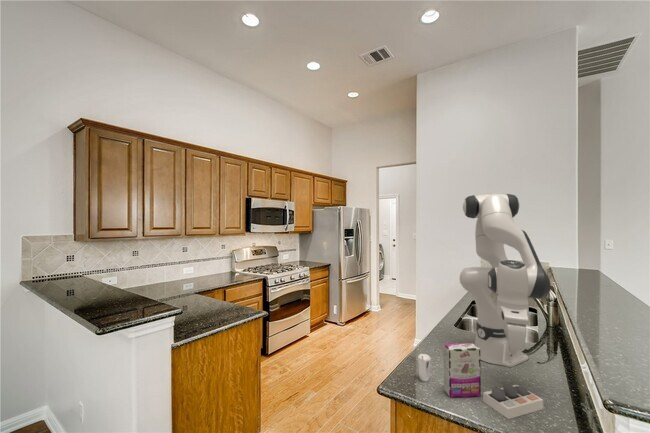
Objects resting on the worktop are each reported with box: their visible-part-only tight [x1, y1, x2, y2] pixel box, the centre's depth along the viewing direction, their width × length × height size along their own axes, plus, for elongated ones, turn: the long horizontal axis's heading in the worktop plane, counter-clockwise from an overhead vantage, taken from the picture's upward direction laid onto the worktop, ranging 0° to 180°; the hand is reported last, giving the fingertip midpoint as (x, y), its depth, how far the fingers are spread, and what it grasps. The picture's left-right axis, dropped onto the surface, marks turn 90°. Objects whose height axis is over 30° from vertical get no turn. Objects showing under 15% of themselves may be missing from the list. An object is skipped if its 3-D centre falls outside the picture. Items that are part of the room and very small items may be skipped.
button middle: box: [502, 384, 517, 399], centre depth 96 cm, size 4×4×3 cm
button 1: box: [491, 387, 505, 402], centre depth 95 cm, size 4×4×3 cm
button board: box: [482, 384, 544, 420], centre depth 95 cm, size 15×9×3 cm, turn 109°
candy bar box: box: [442, 342, 482, 399], centre depth 102 cm, size 11×5×16 cm, turn 94°
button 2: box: [515, 385, 529, 396], centre depth 98 cm, size 4×4×3 cm
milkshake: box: [417, 353, 432, 382], centre depth 110 cm, size 4×5×10 cm
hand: (512, 353), depth 96 cm, fingers closed
